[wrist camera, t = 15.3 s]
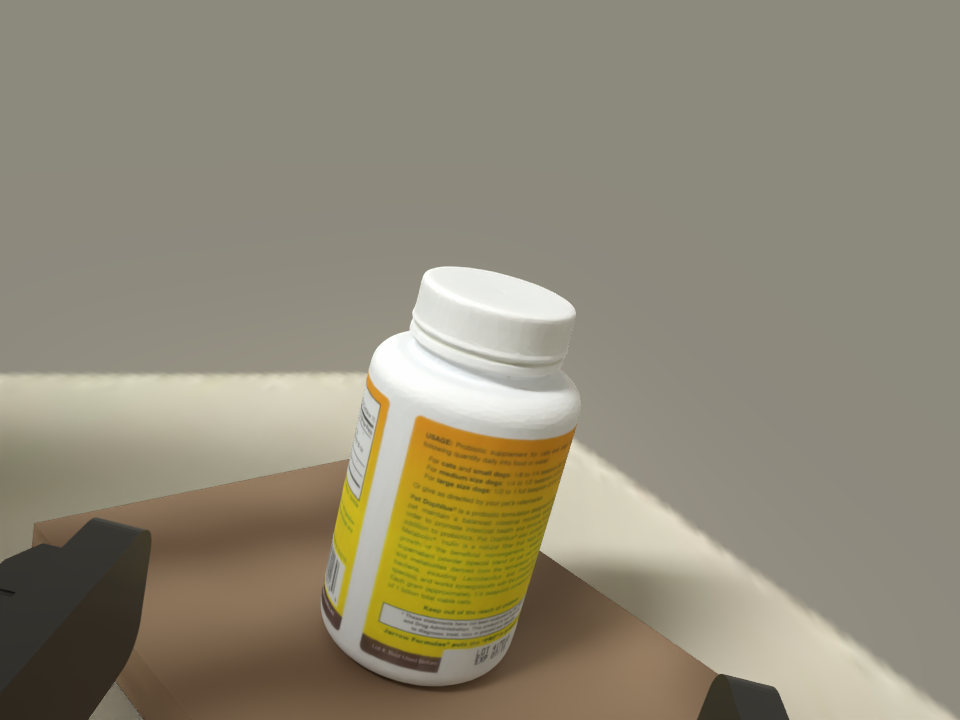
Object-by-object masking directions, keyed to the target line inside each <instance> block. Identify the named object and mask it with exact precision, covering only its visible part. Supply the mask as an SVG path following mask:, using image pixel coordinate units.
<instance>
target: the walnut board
mask: <svg viewBox="0 0 960 720" xmlns="http://www.w3.org/2000/svg"><path fill="white" fill-rule="evenodd" d="M349 460H350V459H347V460H342V461H338V462H333V463H328V464H323V465H318V466H313V467H308V468H303V469H298V470H293V471H288V472H284V473H279V474H274V475H269V476H264V477H259V478H254V479H249V480H244V481H239V482H234V483H230V484H225V485H220V486H215V487H210V488H205V489H200V490H195V491H190V492H185V493H180V494H176V495H171V496H166V497H161V498H156V499H151V500H146V501H141V502H136V503H131V504H126V505H122V506H117V507H112V508H107V509H102V510H97V511H92V512H87V513H82V514H77V515H72V516H68V517H63V518H58V519H53V520H48V521H43V522H38V523H34V531H33V542H32V548H33V547H35V546H37V545H40V544H42V543H45V544H49V545H53V546H57V547H61V548H62V547H63V546H64V545H65V544H66V543H67V542H68V541H69V540H70V539H71V538H72V537H73V536H74V535H75V534H76V533H77V532H78V531H79V530H80V529H81V528H82V527H83V526H84V525H85V524H86V523H87V522H88V521H89V520H91V519H92V518H95V517H98V518H102V519H106V520H110V521H114V522H118V523H122V524H126V525H130V526H134V527H138V528H142V529H146V530H149V531H150V533H151V551H150V558H149V565H148V572H147V579H146V587H145V594H144V601H143V608H142V615H141V622H140V627H139V632H138V635H137V639H136V642H135V645H134V647H133V650H132V652H131V655H130V657H129V659H128V661H127V663H126V665H125V667H124V669H123V670H122V672H121V673H120V675H119V676H118V677H117V679H116V680H115V681H116V682H117V684H118V685H119V686H120V688H121V689H122V690H123V692H124V693H125V694H126V696H127V697H128V698H129V700H130V701H131V702H132V704H133V705H134V706H135V708H136V709H137V710H138V712H139V713H140V714H141V716H142V717H143V718H144V720H697V718H698V716H699V713H700V711H701V708H702V706H703V703H704V701H705V698H706V695H707V693H708V690H709V688H710V686H711V683H712V682H713V680H714V679H715V677H716V676H718V675H719V674H717V673H716V672H714V671H713V670H711V669H710V668H709V667H707V666H706V665H704V664H703V663H701V662H700V661H698V660H697V659H696V658H694V657H693V656H691V655H690V654H688V653H687V652H685V651H684V650H682V649H681V648H680V647H678V646H677V645H675V644H674V643H672V642H671V641H669V640H668V639H667V638H665V637H664V636H662V635H661V634H659V633H658V632H656V631H655V630H654V629H652V628H651V627H649V626H648V625H646V624H645V623H643V622H642V621H641V620H639V619H638V618H636V617H635V616H633V615H632V614H630V613H629V612H627V611H626V610H625V609H623V608H622V607H620V606H619V605H617V604H616V603H614V602H613V601H612V600H610V599H609V598H607V597H606V596H604V595H603V594H601V593H600V592H599V591H597V590H596V589H594V588H593V587H591V586H590V585H588V584H587V583H586V582H584V581H583V580H581V579H580V578H578V577H577V576H575V575H574V574H573V573H571V572H570V571H568V570H567V569H565V568H564V567H562V566H561V565H559V564H558V563H557V562H555V561H554V560H552V559H551V558H549V557H548V556H546V555H545V554H544V553H542V552H541V551H539V552H538V556H537V559H536V563H535V566H534V569H533V572H532V576H531V579H530V582H529V585H528V589H527V592H526V595H525V598H524V602H523V605H522V609H521V612H520V615H519V618H518V622H517V626H516V629H515V632H514V635H513V638H512V641H511V644H510V646H509V648H508V650H507V652H506V654H505V655H504V657H503V658H502V659H501V661H500V662H499V663H498V664H497V665H496V666H495V667H493V668H492V669H491V670H490V671H488V672H487V673H485V674H484V675H482V676H480V677H478V678H475V679H473V680H470V681H467V682H464V683H460V684H455V685H447V686H420V685H414V684H408V683H403V682H399V681H396V680H393V679H390V678H387V677H384V676H382V675H379V674H377V673H375V672H373V671H371V670H369V669H367V668H365V667H364V666H362V665H360V664H359V663H357V662H356V661H354V660H353V659H352V658H351V657H349V656H348V655H347V654H346V653H345V652H344V651H343V650H342V649H341V648H340V647H339V646H338V645H337V644H336V643H335V642H334V640H333V638H332V637H331V635H330V634H329V632H328V630H327V628H326V626H325V624H324V621H323V618H322V613H321V593H322V587H323V582H324V577H325V573H326V568H327V564H328V558H329V553H330V549H331V544H332V539H333V534H334V530H335V525H336V520H337V516H338V511H339V506H340V501H341V497H342V492H343V487H344V482H345V478H346V473H347V468H348V464H349Z"/></svg>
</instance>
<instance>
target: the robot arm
mask: <svg viewBox="0 0 960 720" xmlns="http://www.w3.org/2000/svg"><path fill="white" fill-rule="evenodd" d="M150 551H151V533H150V531H149V530H146V529H142V528H138V527H134V526H130V525H126V524H122V523H118V522H114V521H110V520H106V519H102V518H98V517H95V518H92V519H91V520H89V521H88V522H87V523H86V524H85V525H84V526H83V527H82V528H81V529H80V530H79V531H78V532H77V533H76V534H75V535H74V536H73V537H72V538H71V539H70V540H69V541H68V542H67V543H66V544H65V545H64V546H63V547H62V548H61V547H57V546H53V545H49V544H45V543H42V544H40V545H37V546H35V547H33V548H30V549H28V550H26V551H24V552H21V553H19V554H17V555H15V556H12V557H10V558H8V559H5V560H4V561H3V562H2V563H1V564H0V720H88V719H89V717H90V716H91V714H92V713H93V712H94V710H95V709H96V707H97V706H98V704H99V703H100V702H101V700H102V699H103V697H104V696H105V695H106V693H107V692H108V690H109V689H110V687H111V686H112V685H113V683H114V682H115V680H116V679H117V677H118V676H119V675H120V673H121V672H122V670H123V669H124V667H125V665H126V663H127V661H128V659H129V657H130V655H131V652H132V650H133V647H134V645H135V642H136V639H137V635H138V632H139V627H140V622H141V615H142V608H143V601H144V594H145V587H146V579H147V572H148V565H149V558H150ZM697 720H789V718H788V715H787V713H786V710H785V708H784V705H783V703H782V700H781V697H780V695H779V693H778V691H777V690H776V688H774V687H772V686H768V685H764V684H760V683H756V682H752V681H748V680H744V679H740V678H736V677H732V676H728V675H724V674H719V675H718V676H716V677H715V679H714V680H713V682H712V683H711V686H710V688H709V690H708V693H707V695H706V698H705V701H704V703H703V706H702V708H701V711H700V713H699V716H698V718H697Z"/></svg>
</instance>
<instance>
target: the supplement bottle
mask: <svg viewBox="0 0 960 720" xmlns="http://www.w3.org/2000/svg"><path fill="white" fill-rule="evenodd" d="M412 314H413V319H412V321H411V324H410V331H407V332H403V333H399V334H397V335H394V336H392V337H390V338H388V339H387V340H385V341H384V342H383V343H382V344H381V345H380V346H379V347H378V348H377V349H376V351H375V353H374V355H373V357H372V361H371V364H370V367H369V371H368V376H367V381H366V386H365V390H364V395H363V399H362V404H361V409H360V414H359V418H358V423H357V428H356V433H355V437H354V442H353V446H352V451H351V455H350V460H349V464H348V468H347V473H346V478H345V482H344V487H343V492H342V497H341V501H340V506H339V511H338V516H337V520H336V525H335V530H334V534H333V539H332V544H331V549H330V553H329V558H328V564H327V568H326V573H325V577H324V582H323V587H322V593H321V613H322V618H323V621H324V624H325V626H326V628H327V630H328V632H329V634H330V635H331V637H332V638H333V640H334V642H335V643H336V644H337V645H338V646H339V647H340V648H341V649H342V650H343V651H344V652H345V653H346V654H347V655H348V656H349V657H351V658H352V659H353V660H354V661H356V662H357V663H359V664H360V665H362V666H364V667H365V668H367V669H369V670H371V671H373V672H375V673H377V674H379V675H382V676H384V677H387V678H390V679H393V680H396V681H399V682H403V683H408V684H414V685H420V686H447V685H455V684H460V683H464V682H467V681H470V680H473V679H475V678H478V677H480V676H482V675H484V674H485V673H487V672H488V671H490V670H491V669H492V668H493V667H495V666H496V665H497V664H498V663H499V662H500V661H501V659H502V658H503V657H504V655H505V654H506V652H507V650H508V648H509V646H510V644H511V641H512V638H513V635H514V632H515V629H516V626H517V622H518V618H519V615H520V612H521V609H522V605H523V602H524V598H525V595H526V592H527V589H528V585H529V582H530V579H531V576H532V572H533V569H534V566H535V563H536V559H537V556H538V552H539V549H540V546H541V542H542V539H543V536H544V533H545V529H546V526H547V523H548V519H549V516H550V513H551V510H552V506H553V503H554V500H555V496H556V493H557V490H558V486H559V483H560V479H561V476H562V473H563V469H564V466H565V463H566V459H567V456H568V453H569V449H570V446H571V443H572V439H573V436H574V433H575V429H576V426H577V422H578V418H579V414H580V410H581V401H580V396H579V392H578V390H577V388H576V386H575V384H574V383H573V382H572V380H571V379H570V378H569V377H568V376H567V375H566V374H565V373H564V372H563V371H562V370H561V367H562V365H563V361H564V357H565V356H566V355H567V353H568V343H569V339H570V336H571V332H572V329H573V325H574V322H575V318H576V312H575V309H574V307H573V306H572V305H571V304H570V303H569V302H568V301H567V300H565V299H564V298H562V297H560V296H559V295H557V294H555V293H553V292H551V291H549V290H547V289H545V288H543V287H541V286H538V285H535V284H533V283H530V282H527V281H524V280H521V279H518V278H514V277H511V276H507V275H504V274H500V273H496V272H490V271H486V270H480V269H473V268H466V267H465V268H464V267H437V268H434V269H430V270H428V271H427V272H426V273H425V274H424V276H423V279H422V282H421V286H420V291H419V295H418V299H417V302H416V306H415V308H414V310H413V313H412Z"/></svg>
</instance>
